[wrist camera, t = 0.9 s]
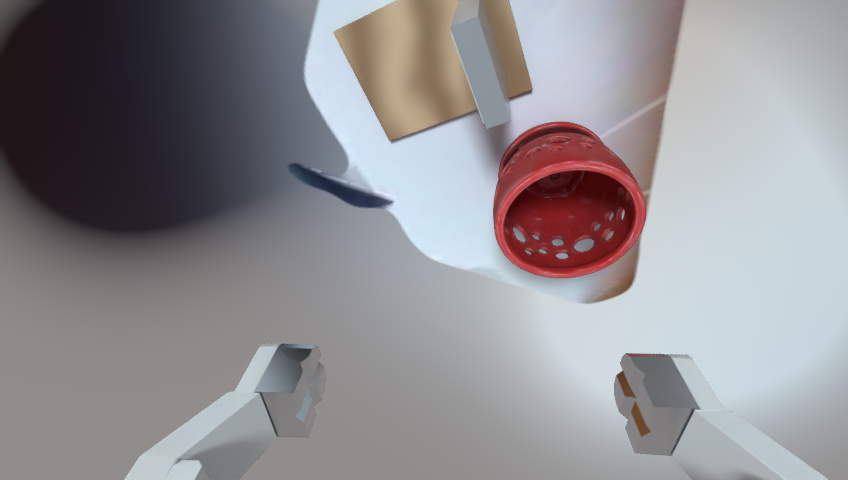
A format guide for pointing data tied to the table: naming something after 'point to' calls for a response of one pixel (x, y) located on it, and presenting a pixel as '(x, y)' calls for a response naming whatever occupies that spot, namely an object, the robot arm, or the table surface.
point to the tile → (481, 61)
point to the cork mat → (423, 62)
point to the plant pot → (565, 201)
